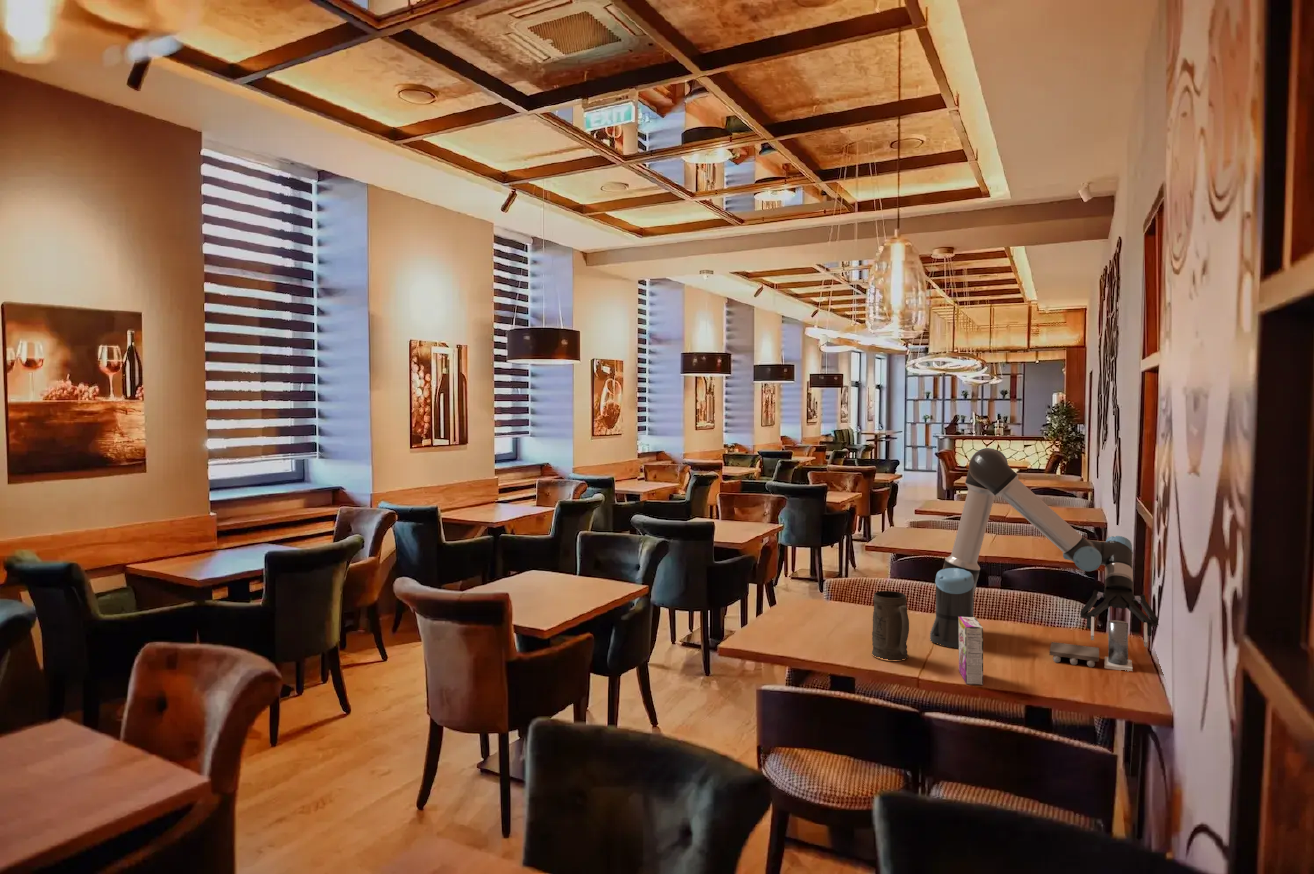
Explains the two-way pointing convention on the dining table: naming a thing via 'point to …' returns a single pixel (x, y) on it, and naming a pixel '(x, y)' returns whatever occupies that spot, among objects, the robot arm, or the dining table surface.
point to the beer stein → (890, 625)
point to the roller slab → (1074, 653)
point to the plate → (1118, 667)
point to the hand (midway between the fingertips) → (1118, 641)
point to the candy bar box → (971, 650)
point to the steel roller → (1118, 642)
